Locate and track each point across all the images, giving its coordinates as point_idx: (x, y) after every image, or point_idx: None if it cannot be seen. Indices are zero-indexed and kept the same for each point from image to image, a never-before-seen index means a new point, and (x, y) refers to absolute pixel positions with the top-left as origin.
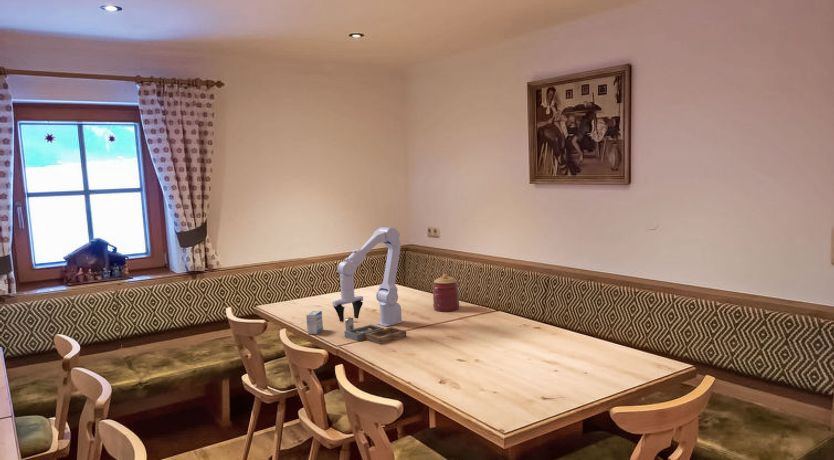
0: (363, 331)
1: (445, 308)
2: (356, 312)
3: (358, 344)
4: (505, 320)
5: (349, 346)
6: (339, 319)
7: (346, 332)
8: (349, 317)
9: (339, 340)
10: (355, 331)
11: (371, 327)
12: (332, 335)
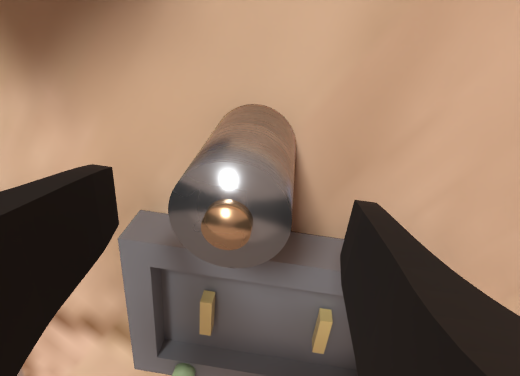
0: (280, 294)
1: None
2: (358, 315)
3: (120, 370)
4: None
5: (64, 357)
6: (72, 173)
7: (124, 260)
8: (236, 227)
9: None
10: None
11: None
12: (74, 88)
